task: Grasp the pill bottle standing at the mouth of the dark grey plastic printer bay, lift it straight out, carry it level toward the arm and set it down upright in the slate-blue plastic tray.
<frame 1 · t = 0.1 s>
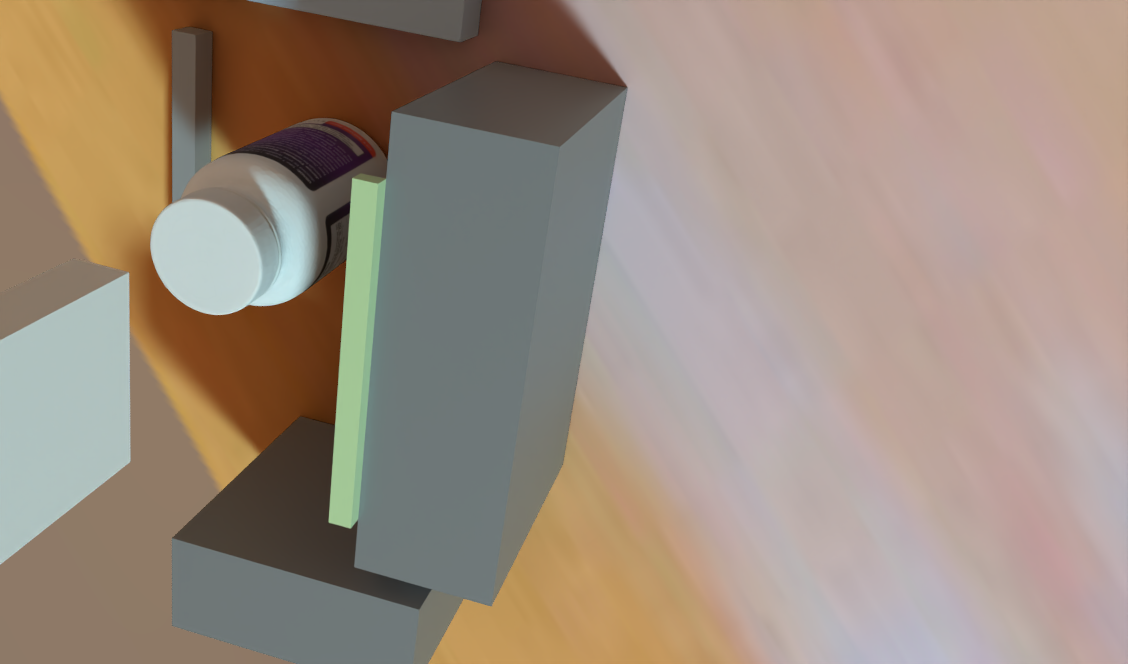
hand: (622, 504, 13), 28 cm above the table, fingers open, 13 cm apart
printer bay: (335, 183, 43), on the table
pill bottle: (337, 182, 43), on the table
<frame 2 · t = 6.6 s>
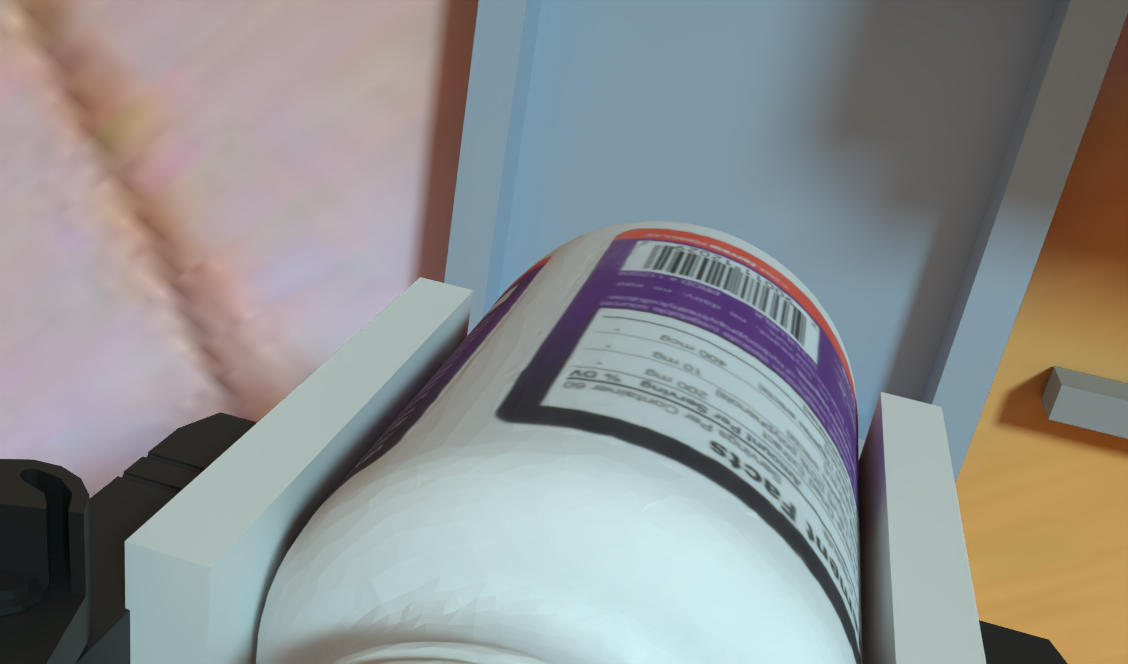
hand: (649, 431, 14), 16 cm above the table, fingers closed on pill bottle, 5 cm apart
tray: (747, 164, 28), on the table
pill bottle: (668, 387, 16), point 14 cm above the table, touching gripper
when the fingers open (3 cm above the table, at t = 9.3 s): pill bottle drops 1 cm, resting on tray.
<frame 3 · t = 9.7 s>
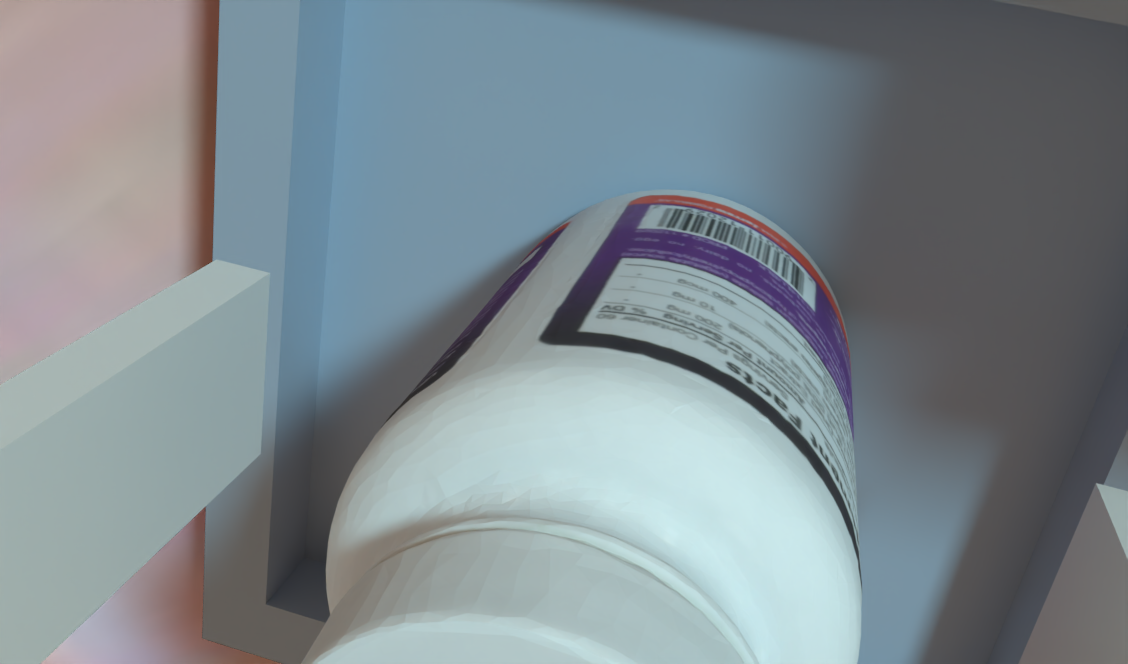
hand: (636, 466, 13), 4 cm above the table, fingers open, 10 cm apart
tray: (684, 338, 17), on the table
pill bottle: (676, 345, 17), resting on tray
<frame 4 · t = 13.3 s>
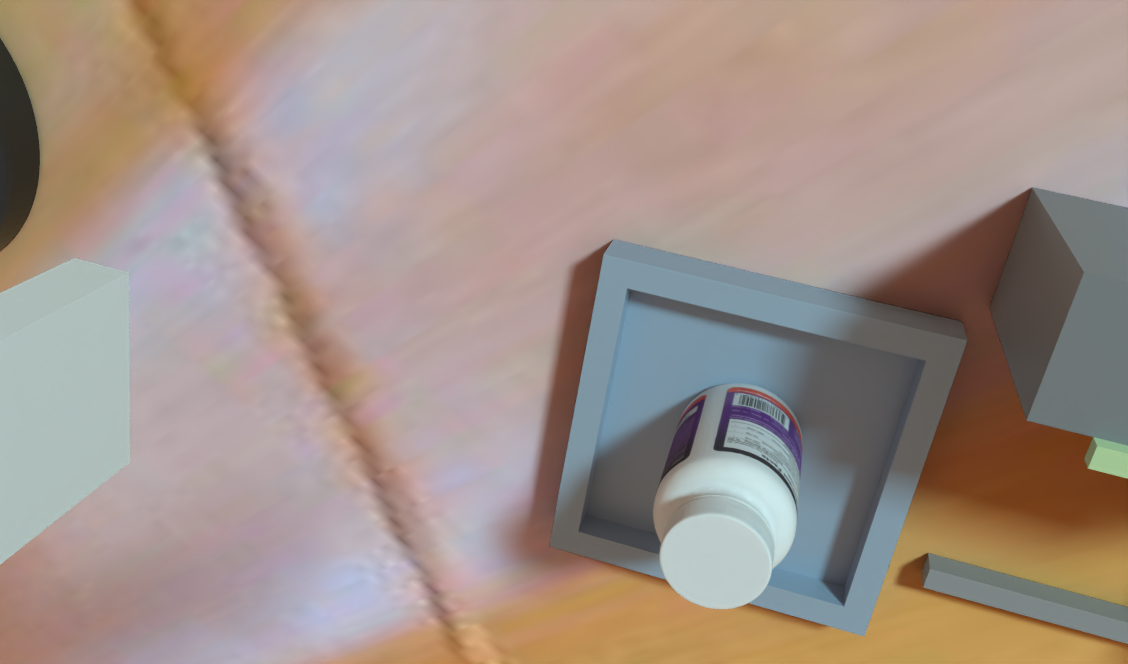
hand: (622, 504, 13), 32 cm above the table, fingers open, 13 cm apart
tray: (743, 431, 47), on the table
printer bay: (1092, 476, 44), on the table
pill bottle: (740, 434, 47), resting on tray
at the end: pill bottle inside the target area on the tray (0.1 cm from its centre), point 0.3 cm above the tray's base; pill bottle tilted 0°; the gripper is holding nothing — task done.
